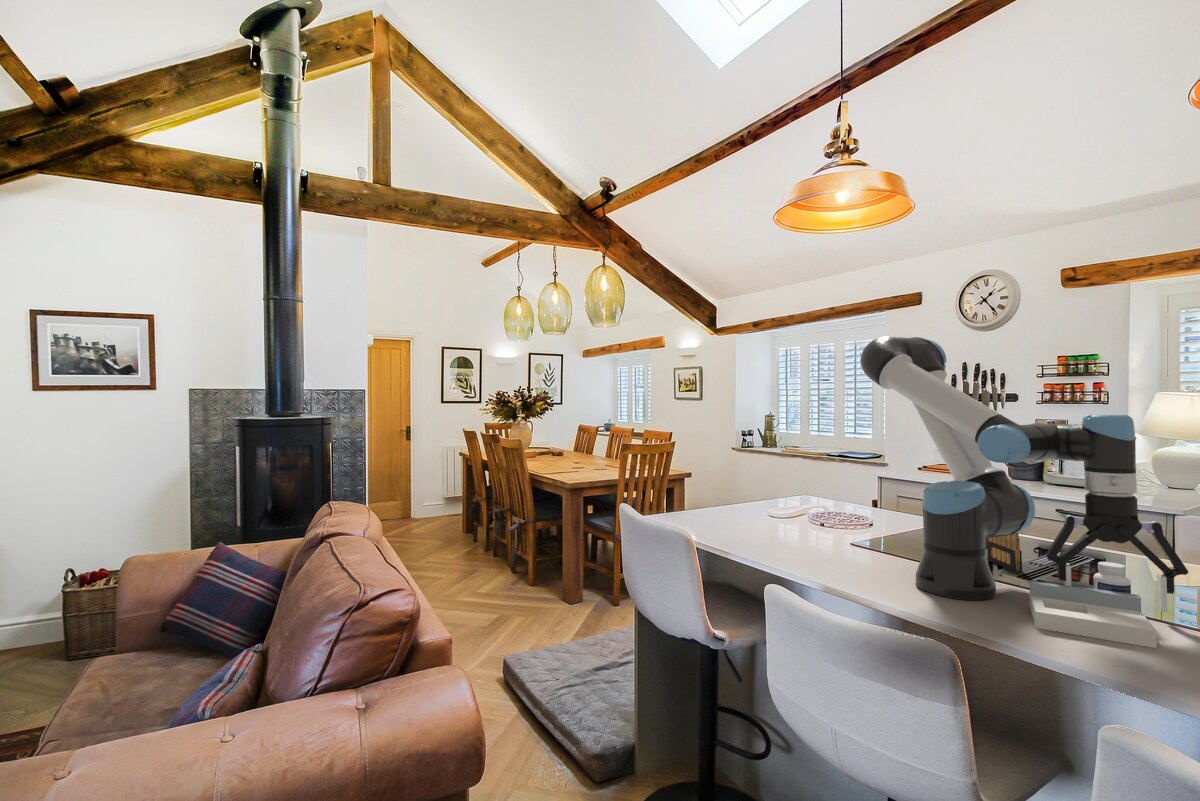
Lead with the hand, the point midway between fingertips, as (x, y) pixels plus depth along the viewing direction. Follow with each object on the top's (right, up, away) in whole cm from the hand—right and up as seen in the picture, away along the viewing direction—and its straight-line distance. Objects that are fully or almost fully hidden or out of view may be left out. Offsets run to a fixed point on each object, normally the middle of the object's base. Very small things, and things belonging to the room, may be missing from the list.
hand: (1113, 603), depth 108 cm
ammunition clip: (+3, -3, +34) cm, 34 cm away
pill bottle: (0, -2, 0) cm, 2 cm away
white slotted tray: (-10, -2, -5) cm, 11 cm away
